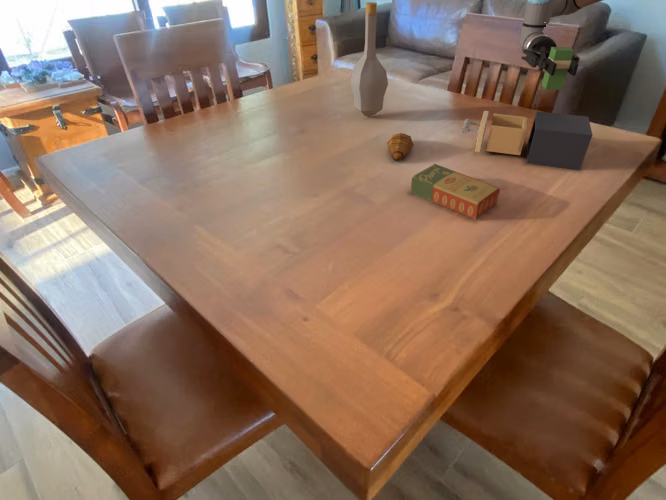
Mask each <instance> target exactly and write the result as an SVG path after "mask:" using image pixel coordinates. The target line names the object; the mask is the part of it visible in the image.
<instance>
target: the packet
mask: <svg viewBox="0 0 666 500" xmlns="http://www.w3.org/2000/svg"><path fill="white" fill-rule="evenodd" d="M574 52H575V50H574V49H573V48H572V47H570V46H557V47H551V51H550V55H549V57H548V58H550V59H551V60H552V61H553V62H554V63H556V64H557V66H556V70H555V73H554V76H551V75H550V74H549V73H548V72H547V71H546V70H545V69H544V74H543V78H542V81H541V87H542V88H543V89H544V90H545V91H563V90H564V86H565V83H566V79H567V76H568V74H569V72H568V70H569V67H570V64H571V59H572V56H573V53H574ZM574 54H575V53H574Z"/></svg>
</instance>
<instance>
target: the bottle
mask: <svg viewBox="0 0 666 500" xmlns="http://www.w3.org/2000/svg"><path fill="white" fill-rule="evenodd" d="M377 6H378V2H374V1H372V2H371V1H370V2H365V12H364V14H365V15H364V18H365V28H364V29H365V32H364V33H365V34H364V41H365V43H364V48H363V49H364V50H363V55H362V56H361V58H360V59H359V60H358V61H357V62H356V63H355V65H354V66H353V67H352V68H353V69H352V72H351V73H352V74H351V78H350V83H349V84H350V88H351V91H352V95H353V107H354V108H355V109H356V110H358V111H359V112H360V113H361V114H362V115H363V116H364V117H367V118H369V117H372V116H375V115H376V114H378V113H379V112H380V111H382V110H383V108H384V100H385V96H386V95H385V94H386V92H387V88H388V85H389V80H388V74H387V69H386V68H385V67H384V66H383V65H382V63H381V61H380V60H379V59H378V57H377V49H376V48H377V47H376V42H377V40H376V39H377V20H378V12H377Z"/></svg>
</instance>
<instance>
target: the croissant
mask: <svg viewBox="0 0 666 500" xmlns="http://www.w3.org/2000/svg"><path fill="white" fill-rule="evenodd" d="M386 144H387V148H388V152H389V154H390V156H391V159H392V160H393V161H394V162H401V161H402V160H403V159H404V158H405V157H406V156H407V155H408V153H410V151H411V150H412V148H413V147H414V145H415V144H414V141H413V139H412V136H411V135H409V134H405V133H402V132H400V133H396V134H392V135H391V137H390V138H389V139H388V141H387V142H386Z"/></svg>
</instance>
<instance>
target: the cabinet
mask: <svg viewBox="0 0 666 500" xmlns="http://www.w3.org/2000/svg"><path fill="white" fill-rule="evenodd" d="M592 130H593V129H592V126H591V123H590V118H589V116H585V115H575V114H567V113H566V114H565V113H555V112H546V111H545V112H544V111H536V112H535V116H534V118H533V122H532V126H531V130H530V133H529V137H528V141H527V145H526V146H527V147H526V163H525V164H529V165H537V166H545V167H551V168H552V167H553V168H560V169H567V170H573V171H574V170H575V171H580V170H581V168H582V164H583V163H584V159H585V157H586V154H587V151H588V149H589V146H590V143H591V140H592V138H593V131H592Z"/></svg>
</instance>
